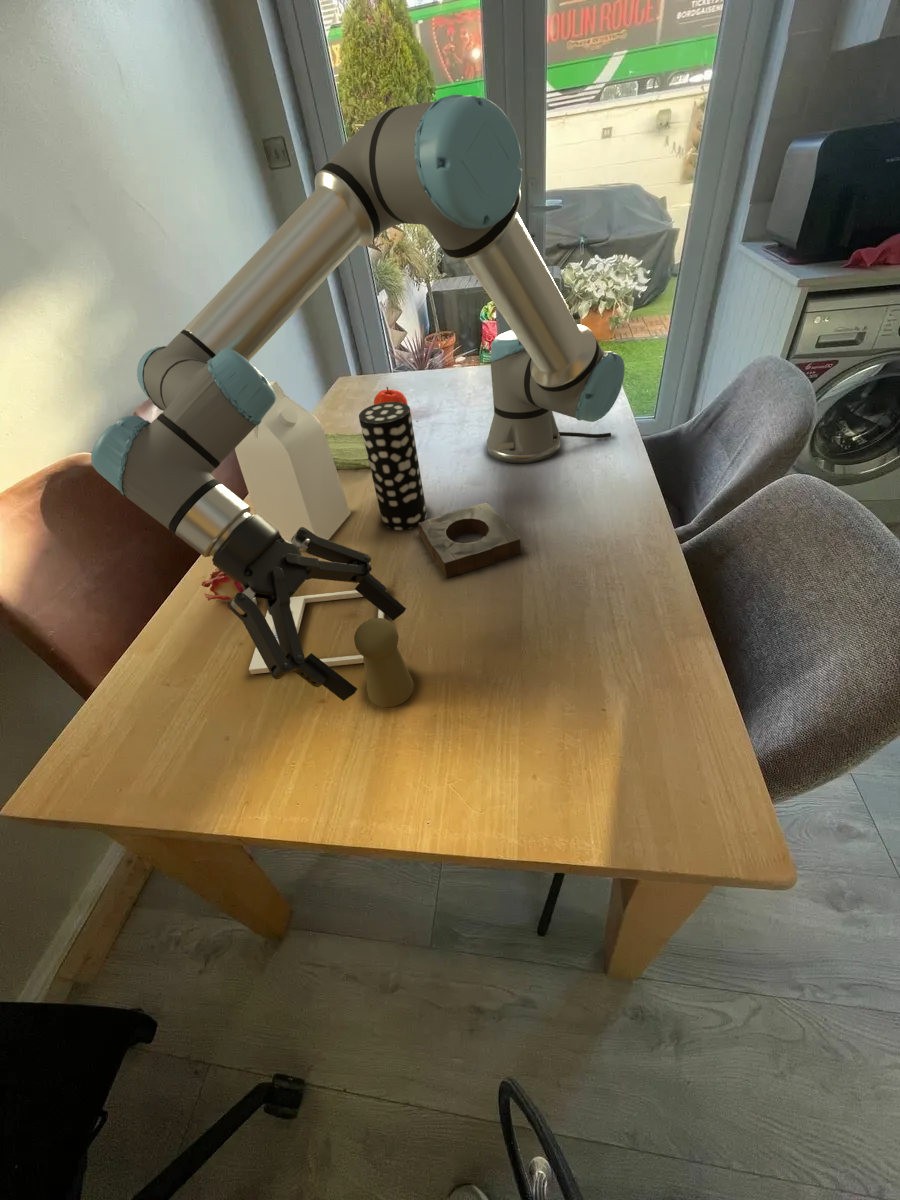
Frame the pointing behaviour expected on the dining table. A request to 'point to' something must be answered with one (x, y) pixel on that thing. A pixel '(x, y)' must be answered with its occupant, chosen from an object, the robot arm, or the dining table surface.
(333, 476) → the milk
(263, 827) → the dining table surface
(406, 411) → the spotted tube
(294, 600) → the photo frame
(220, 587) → the flower
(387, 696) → the wooden peg doll
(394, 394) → the apple
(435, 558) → the ring plate
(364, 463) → the washcloth
